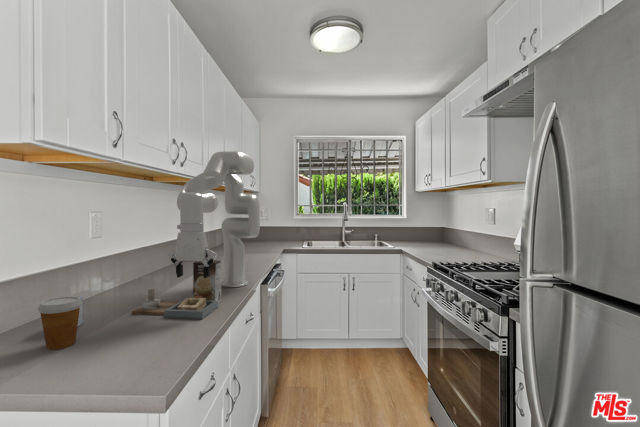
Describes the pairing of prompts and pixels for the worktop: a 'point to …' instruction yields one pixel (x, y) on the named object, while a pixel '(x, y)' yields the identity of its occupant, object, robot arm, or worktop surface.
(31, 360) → the worktop surface
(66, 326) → the disposable coffee cup
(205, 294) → the brown food box
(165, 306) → the stake board
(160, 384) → the worktop surface
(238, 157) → the robot arm
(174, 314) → the grey square tray
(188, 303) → the birch ring
